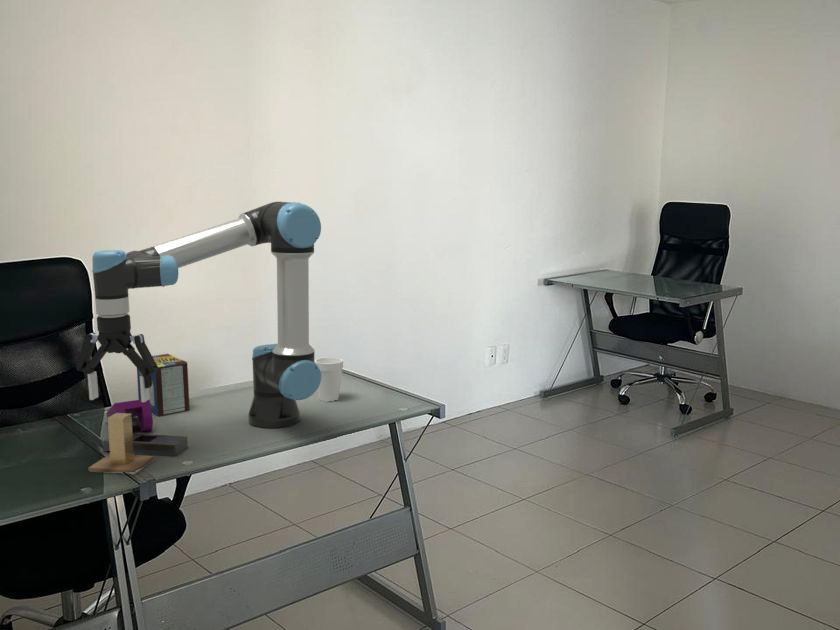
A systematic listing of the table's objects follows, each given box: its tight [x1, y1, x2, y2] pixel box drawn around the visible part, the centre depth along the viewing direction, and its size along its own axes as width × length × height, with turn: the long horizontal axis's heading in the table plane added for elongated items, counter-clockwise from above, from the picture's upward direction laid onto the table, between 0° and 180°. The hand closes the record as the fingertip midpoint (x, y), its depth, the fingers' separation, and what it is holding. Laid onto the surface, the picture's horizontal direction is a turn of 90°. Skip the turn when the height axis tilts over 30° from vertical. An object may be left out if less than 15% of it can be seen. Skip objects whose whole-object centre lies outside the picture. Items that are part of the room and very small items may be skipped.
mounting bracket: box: [106, 399, 154, 432], centre depth 222 cm, size 9×8×18 cm
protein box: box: [136, 353, 190, 417], centre depth 240 cm, size 10×15×16 cm
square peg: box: [107, 413, 135, 465], centre depth 191 cm, size 4×4×12 cm
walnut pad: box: [87, 453, 155, 473], centre depth 192 cm, size 12×10×1 cm
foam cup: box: [314, 356, 344, 402], centre depth 252 cm, size 10×9×13 cm
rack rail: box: [102, 432, 188, 457], centre depth 204 cm, size 20×7×3 cm, turn 81°
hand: (119, 399), depth 190 cm, fingers open, 13 cm apart
